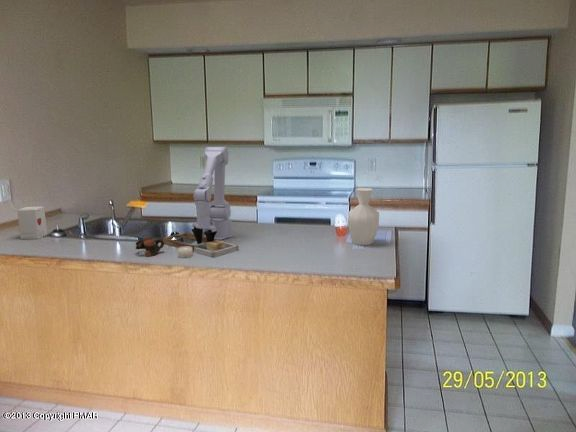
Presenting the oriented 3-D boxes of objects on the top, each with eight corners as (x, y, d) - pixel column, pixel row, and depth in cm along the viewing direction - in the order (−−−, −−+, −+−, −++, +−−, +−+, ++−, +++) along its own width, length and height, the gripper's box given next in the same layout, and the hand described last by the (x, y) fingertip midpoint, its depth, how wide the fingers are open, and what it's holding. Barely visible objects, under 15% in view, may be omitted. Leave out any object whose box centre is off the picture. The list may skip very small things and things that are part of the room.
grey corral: (220, 245, 209) (220, 241, 208) (238, 249, 201) (238, 245, 201) (195, 252, 198) (194, 247, 198) (213, 257, 190) (213, 252, 190)
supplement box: (38, 239, 224) (34, 209, 221) (20, 239, 224) (16, 209, 221) (48, 234, 233) (44, 206, 230) (30, 234, 233) (27, 206, 230)
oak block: (216, 248, 204) (216, 239, 203) (225, 250, 200) (225, 242, 199) (206, 251, 199) (206, 242, 199) (215, 253, 196) (215, 244, 195)
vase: (342, 245, 207) (343, 190, 202) (353, 237, 219) (354, 186, 214) (373, 248, 201) (374, 192, 195) (382, 241, 213) (384, 188, 208)
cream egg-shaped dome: (186, 253, 197) (186, 245, 197) (195, 255, 193) (195, 247, 193) (175, 256, 193) (174, 248, 192) (184, 259, 189) (183, 250, 188)
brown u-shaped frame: (187, 237, 224) (186, 232, 224) (217, 244, 210) (217, 239, 209) (162, 243, 214) (161, 238, 213) (192, 251, 199) (191, 246, 199)
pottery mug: (139, 259, 190) (132, 241, 191) (141, 263, 199) (134, 246, 200) (167, 249, 194) (160, 231, 195) (167, 253, 203) (160, 236, 204)
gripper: (185, 214, 203) (187, 244, 206) (206, 218, 194) (208, 249, 197) (198, 212, 209) (199, 241, 211) (219, 216, 199) (220, 246, 202)
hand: (204, 245), depth 204 cm, fingers open, 7 cm apart
